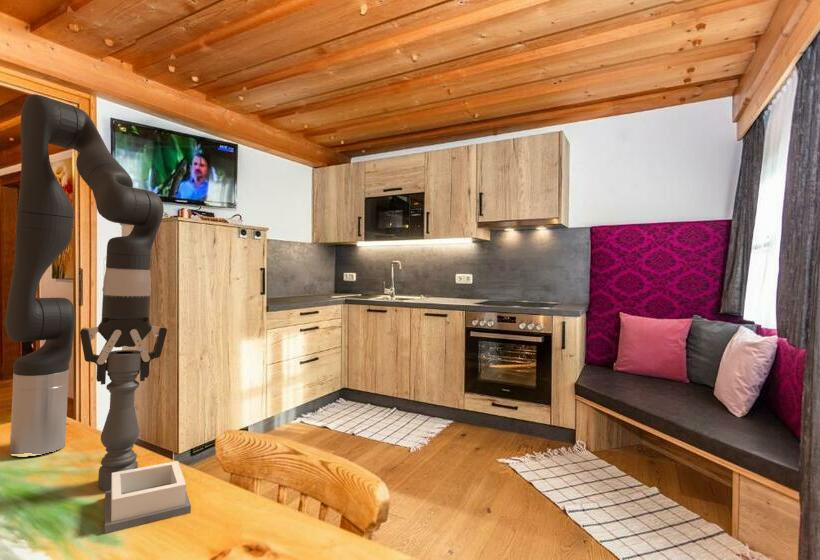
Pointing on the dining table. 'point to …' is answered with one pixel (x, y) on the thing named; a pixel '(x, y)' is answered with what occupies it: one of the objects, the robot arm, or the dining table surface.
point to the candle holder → (120, 416)
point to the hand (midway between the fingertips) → (122, 381)
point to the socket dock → (145, 496)
